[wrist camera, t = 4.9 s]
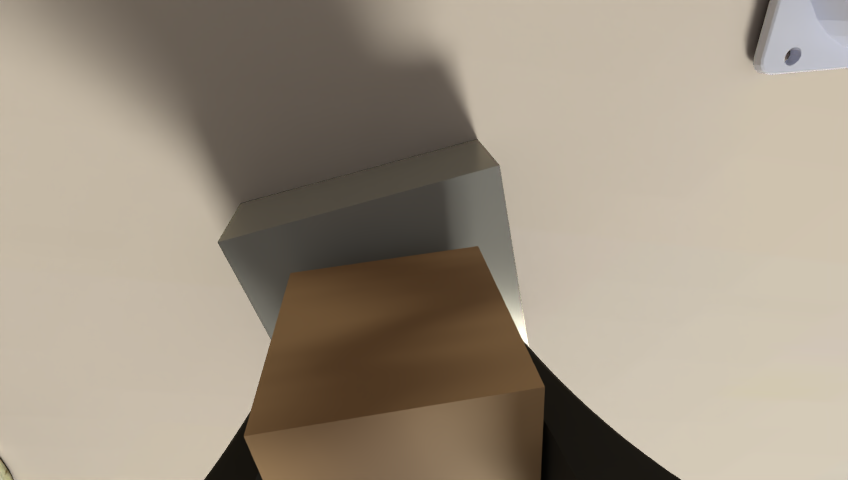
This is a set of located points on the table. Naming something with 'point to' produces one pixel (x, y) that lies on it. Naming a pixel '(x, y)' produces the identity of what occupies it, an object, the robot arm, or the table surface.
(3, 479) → the coffee can
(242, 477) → the robot arm
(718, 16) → the table surface
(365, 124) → the table surface
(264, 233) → the slate slab
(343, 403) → the walnut cube
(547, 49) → the table surface
